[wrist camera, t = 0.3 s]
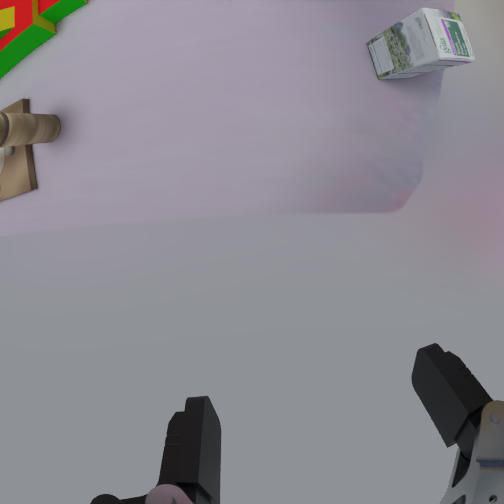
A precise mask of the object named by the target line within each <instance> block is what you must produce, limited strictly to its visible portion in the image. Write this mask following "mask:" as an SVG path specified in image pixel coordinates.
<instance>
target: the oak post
mask: <svg viewBox="0 0 504 504" xmlns="http://www.w3.org/2000/svg"><path fill="white" fill-rule="evenodd" d="M59 132H60V121H59V118H58V117H57V116H55V115H48V114H29V113H2V112H0V148H2V147H9V146H17V145H26V144H36V143H47V142H52V141H54V140H55V139H56V138H57V136H58V134H59Z"/></svg>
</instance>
